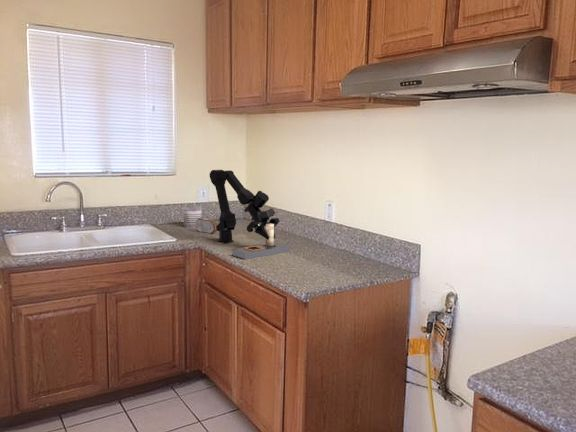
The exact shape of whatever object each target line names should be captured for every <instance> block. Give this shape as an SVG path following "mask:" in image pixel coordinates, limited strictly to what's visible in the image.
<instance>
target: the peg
mask: <svg viewBox="0 0 576 432" xmlns="http://www.w3.org/2000/svg"><path fill="white" fill-rule="evenodd" d="M265 231H266V232H267V234H268V236H269V239H266V238H265V244H266V247H268V248H270V247H274V242H275V241H274V239H275V238H274V232H275V227H274V224H271V223H269V224H266V227H265Z"/></svg>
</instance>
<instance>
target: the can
mask: <svg viewBox="0 0 576 432" xmlns="http://www.w3.org/2000/svg"><path fill="white" fill-rule="evenodd" d="M182 209H183V228H185V229H197V228H196V221H197V220H198V219H200V218H203V217H202V216H203V215H202V209H203V207H200V206H196V205H194V206H184V207H183V208H182Z"/></svg>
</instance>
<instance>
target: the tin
mask: <svg viewBox="0 0 576 432" xmlns="http://www.w3.org/2000/svg"><path fill="white" fill-rule="evenodd" d="M217 225H218V224H217V222H216V221H215V220H214V219H213V218H212V219H211V218H205V217H202V218H200V219H198V220H197V221H196V228H195V229H196V230H197V231H198V232H199V233H203V234H210V235H211V234H216V233H217V232H218V231H217V229H216V226H217Z"/></svg>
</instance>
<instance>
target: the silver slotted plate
mask: <svg viewBox="0 0 576 432" xmlns="http://www.w3.org/2000/svg"><path fill="white" fill-rule="evenodd" d="M290 247H291V245H289V244H286V243H282V242H278V241H274V247H270V248H268V247H266V243H263V244H256V245H252V246H245V247H239V248H233V249H232V250H231V251H232V252H231V253H232V255H231V256H233V257H236V258H240V259H242V260H251V259H256V258H261V257H267V256H271V255H277V254H282V253H287V252H290V251H291V248H290Z"/></svg>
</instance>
